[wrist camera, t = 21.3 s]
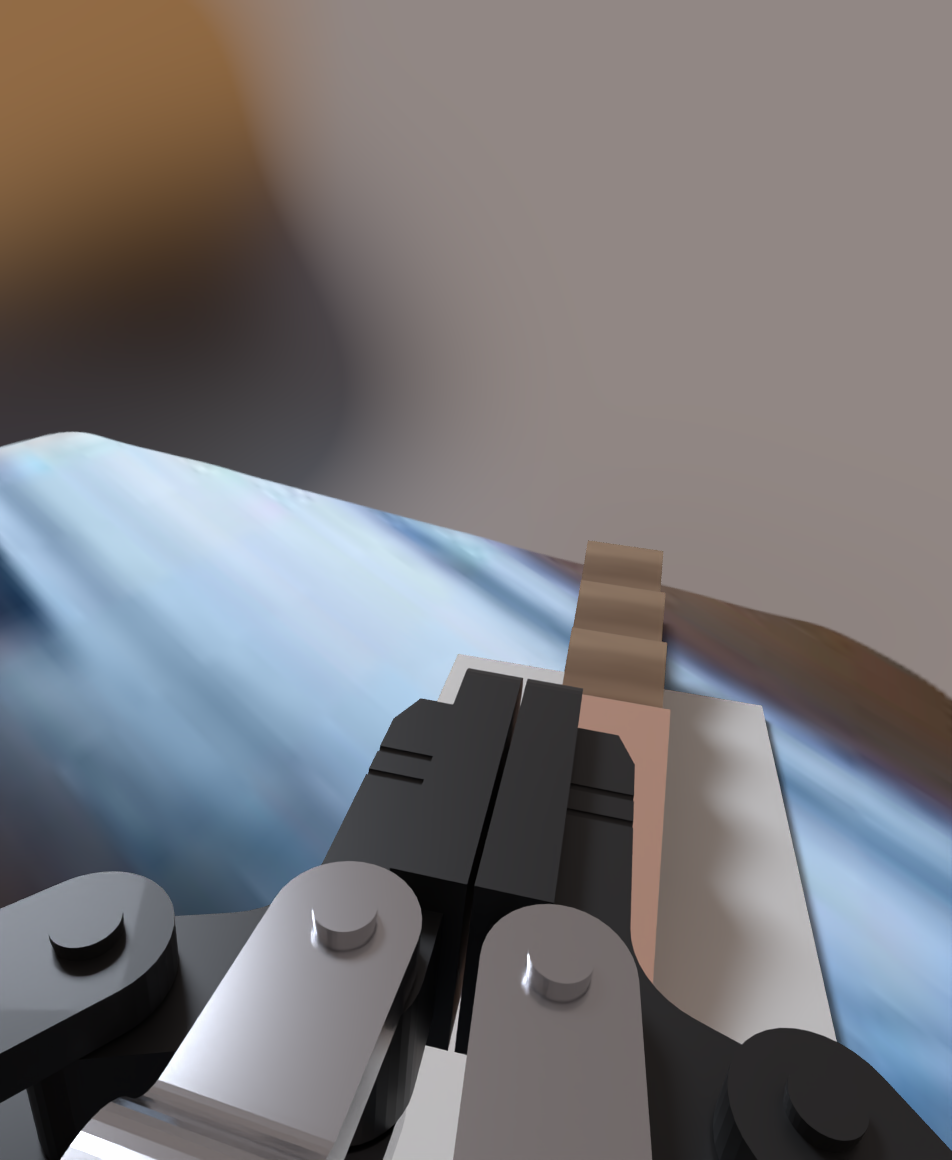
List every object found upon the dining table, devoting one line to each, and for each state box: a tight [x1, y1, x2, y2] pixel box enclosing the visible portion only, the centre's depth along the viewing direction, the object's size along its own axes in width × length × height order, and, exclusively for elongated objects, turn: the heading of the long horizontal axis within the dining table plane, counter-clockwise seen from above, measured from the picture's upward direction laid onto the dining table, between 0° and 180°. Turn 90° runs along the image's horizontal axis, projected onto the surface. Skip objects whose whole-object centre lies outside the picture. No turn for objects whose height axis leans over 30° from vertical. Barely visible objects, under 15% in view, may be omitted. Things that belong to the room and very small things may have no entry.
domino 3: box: [562, 627, 667, 708], centre depth 32 cm, size 2×4×11 cm
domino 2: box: [573, 580, 665, 642], centre depth 36 cm, size 2×4×11 cm
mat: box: [392, 654, 837, 1160], centre depth 28 cm, size 34×16×1 cm, turn 169°
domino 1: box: [582, 541, 663, 592], centre depth 41 cm, size 2×4×11 cm
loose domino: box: [578, 694, 671, 984], centre depth 27 cm, size 2×4×11 cm
